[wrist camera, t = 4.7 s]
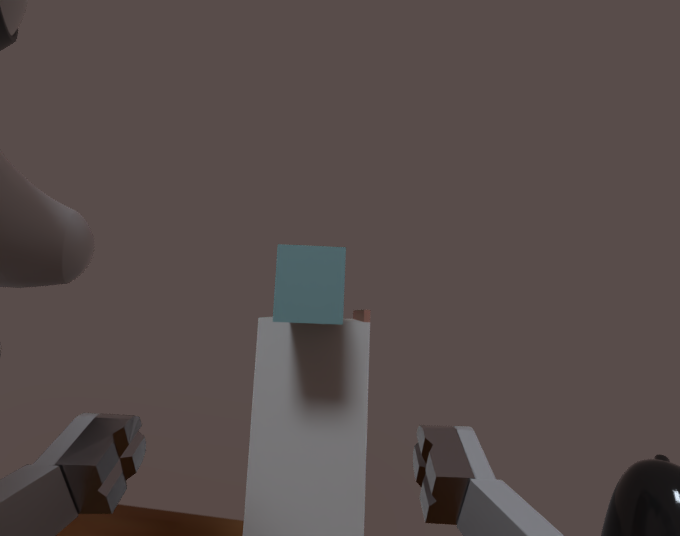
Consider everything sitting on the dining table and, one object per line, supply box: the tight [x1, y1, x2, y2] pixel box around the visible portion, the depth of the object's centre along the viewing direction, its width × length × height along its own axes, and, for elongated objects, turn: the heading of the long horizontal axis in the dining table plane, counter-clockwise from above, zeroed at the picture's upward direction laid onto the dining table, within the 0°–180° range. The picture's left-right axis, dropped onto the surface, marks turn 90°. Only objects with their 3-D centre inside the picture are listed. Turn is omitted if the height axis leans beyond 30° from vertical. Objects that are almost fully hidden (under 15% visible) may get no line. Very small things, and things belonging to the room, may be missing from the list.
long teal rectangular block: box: [273, 244, 346, 325], centre depth 29 cm, size 4×19×4 cm, turn 2°
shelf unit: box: [243, 310, 370, 536], centre depth 32 cm, size 9×13×27 cm
